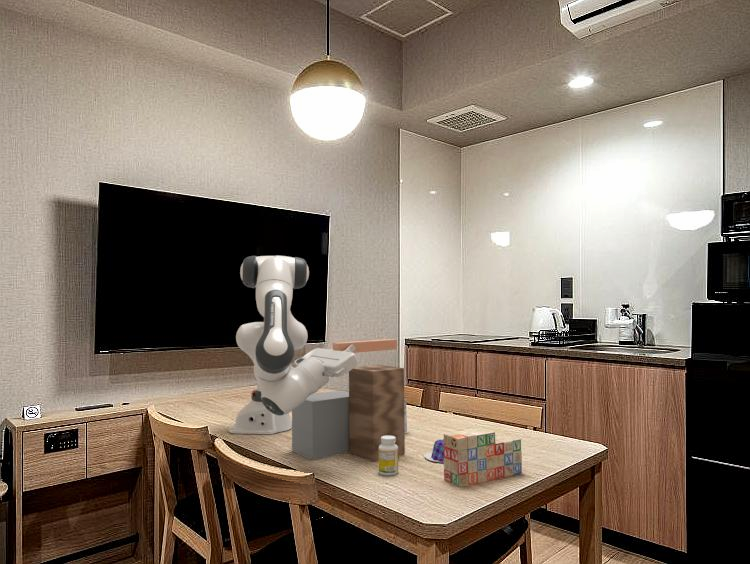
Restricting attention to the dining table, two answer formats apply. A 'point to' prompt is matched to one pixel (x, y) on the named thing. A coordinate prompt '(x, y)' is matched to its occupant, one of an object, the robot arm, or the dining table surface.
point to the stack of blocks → (480, 456)
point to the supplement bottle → (388, 456)
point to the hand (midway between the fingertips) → (348, 345)
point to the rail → (367, 345)
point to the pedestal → (321, 425)
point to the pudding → (437, 452)
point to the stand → (375, 409)
